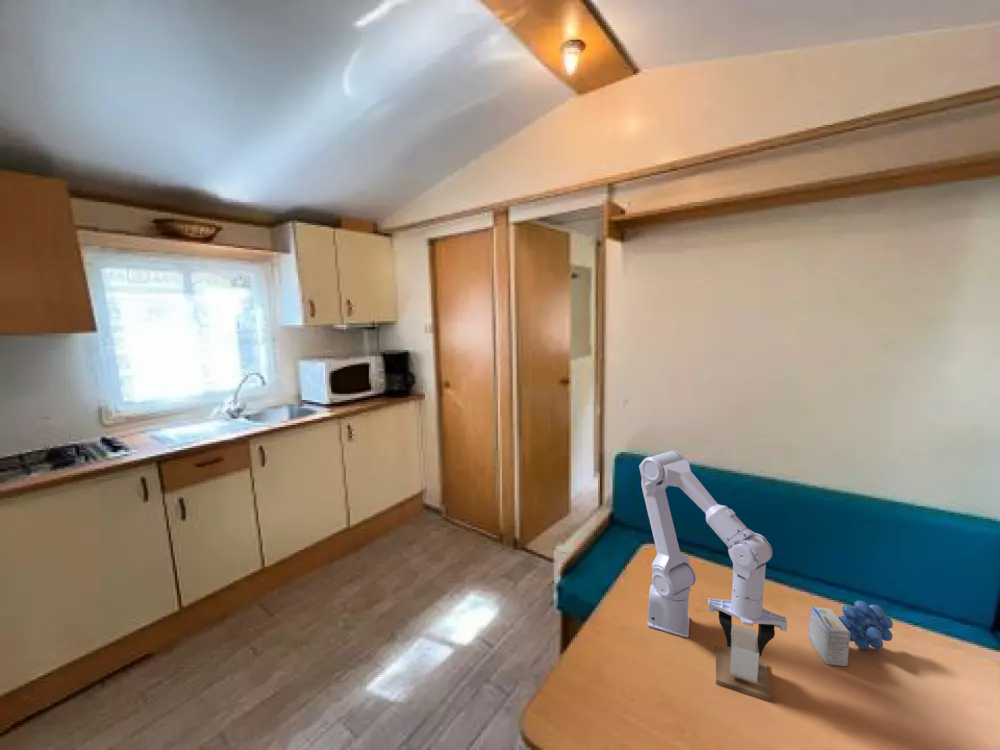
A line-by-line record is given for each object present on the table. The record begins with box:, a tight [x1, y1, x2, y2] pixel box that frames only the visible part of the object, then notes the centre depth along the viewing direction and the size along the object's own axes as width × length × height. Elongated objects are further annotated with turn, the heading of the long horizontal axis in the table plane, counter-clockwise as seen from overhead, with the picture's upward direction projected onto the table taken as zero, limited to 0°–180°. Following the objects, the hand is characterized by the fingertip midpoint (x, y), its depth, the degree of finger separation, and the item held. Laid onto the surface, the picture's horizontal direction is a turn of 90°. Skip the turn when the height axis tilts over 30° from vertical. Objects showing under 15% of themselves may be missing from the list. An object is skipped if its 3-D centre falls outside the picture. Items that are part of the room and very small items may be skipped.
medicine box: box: [807, 606, 851, 667], centre depth 98 cm, size 8×4×9 cm, turn 168°
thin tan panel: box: [715, 645, 772, 703], centre depth 93 cm, size 10×10×4 cm
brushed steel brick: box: [728, 623, 760, 683], centre depth 92 cm, size 5×7×7 cm
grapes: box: [837, 600, 894, 650], centre depth 98 cm, size 12×7×12 cm, turn 83°
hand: (743, 648), depth 92 cm, fingers closed on brushed steel brick, 5 cm apart
